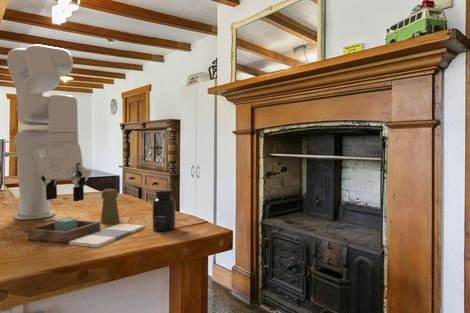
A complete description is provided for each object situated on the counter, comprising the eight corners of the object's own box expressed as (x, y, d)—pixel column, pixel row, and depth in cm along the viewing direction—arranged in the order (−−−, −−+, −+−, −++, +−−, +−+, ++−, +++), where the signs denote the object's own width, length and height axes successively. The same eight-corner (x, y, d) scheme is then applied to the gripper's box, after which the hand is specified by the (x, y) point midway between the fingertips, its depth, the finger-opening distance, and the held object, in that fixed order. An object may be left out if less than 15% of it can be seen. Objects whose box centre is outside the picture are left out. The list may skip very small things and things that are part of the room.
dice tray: (28, 240, 93) (28, 229, 93) (65, 228, 105) (65, 219, 105) (65, 244, 89) (65, 232, 89) (100, 231, 101) (100, 221, 101)
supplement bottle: (155, 233, 99) (155, 192, 99) (150, 228, 106) (149, 189, 105) (178, 230, 103) (178, 190, 102) (171, 225, 109) (171, 188, 108)
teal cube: (55, 234, 96) (54, 220, 96) (66, 231, 100) (66, 218, 100) (65, 236, 95) (65, 221, 95) (77, 232, 99) (76, 219, 98)
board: (69, 244, 89) (68, 241, 89) (120, 226, 109) (120, 223, 108) (97, 247, 86) (97, 244, 86) (144, 228, 106) (144, 225, 106)
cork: (113, 223, 112) (112, 190, 111) (96, 223, 113) (96, 190, 112) (123, 220, 118) (122, 188, 117) (107, 219, 119) (106, 187, 118)
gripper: (28, 139, 95) (30, 200, 96) (78, 139, 90) (79, 203, 91) (50, 140, 103) (52, 196, 103) (97, 139, 97) (99, 199, 98)
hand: (65, 199), depth 97 cm, fingers open, 9 cm apart
